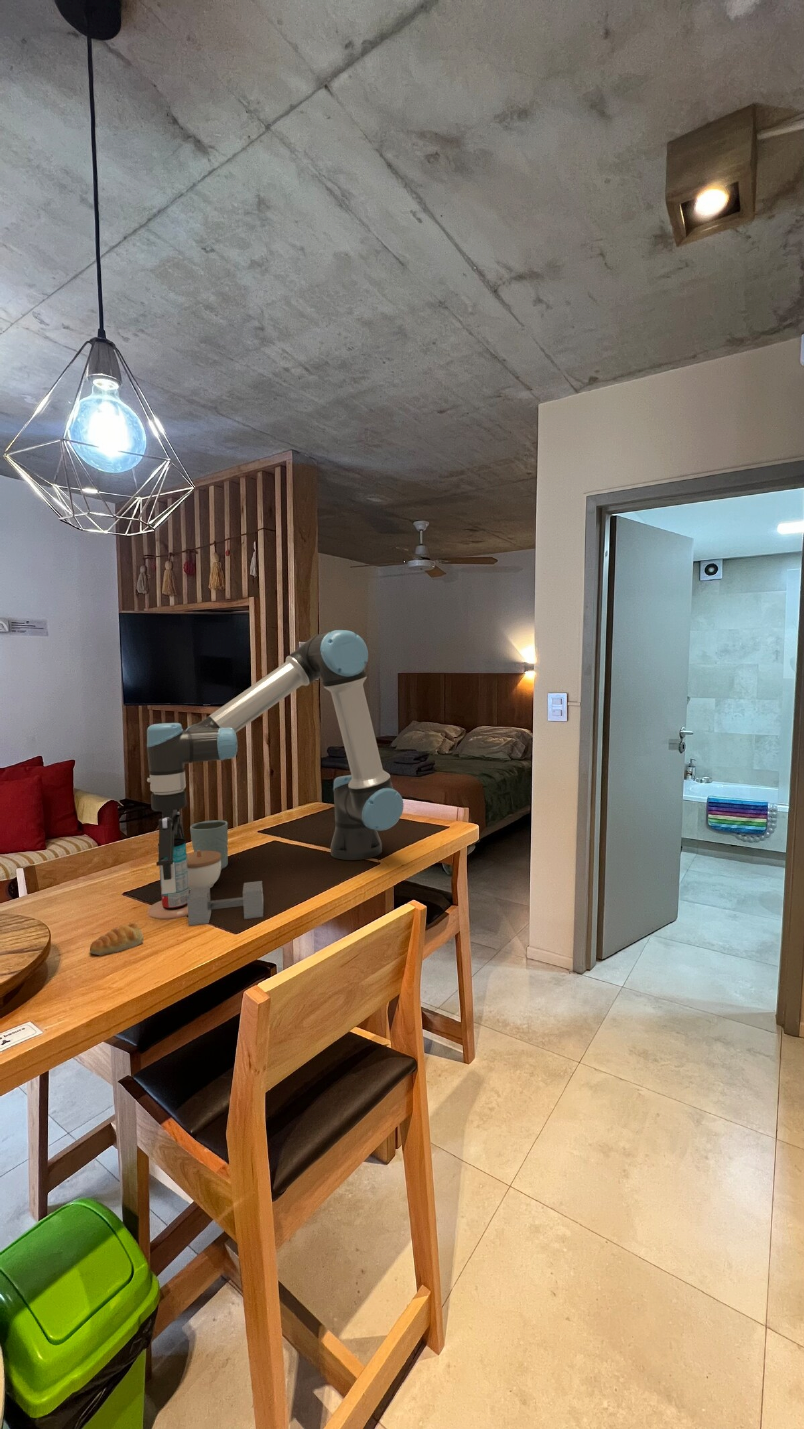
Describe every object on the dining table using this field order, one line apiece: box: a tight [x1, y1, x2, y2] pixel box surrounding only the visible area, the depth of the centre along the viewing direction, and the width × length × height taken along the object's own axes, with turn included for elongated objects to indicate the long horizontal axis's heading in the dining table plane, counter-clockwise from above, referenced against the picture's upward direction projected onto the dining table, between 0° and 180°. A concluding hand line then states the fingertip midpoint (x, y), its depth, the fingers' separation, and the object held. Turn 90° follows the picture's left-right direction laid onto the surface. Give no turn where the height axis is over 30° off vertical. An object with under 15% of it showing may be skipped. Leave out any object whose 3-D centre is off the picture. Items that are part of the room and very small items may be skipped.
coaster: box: [147, 899, 188, 920], centre depth 136 cm, size 12×12×1 cm
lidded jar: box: [186, 850, 222, 891], centre depth 149 cm, size 11×11×9 cm
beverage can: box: [157, 838, 190, 910], centre depth 135 cm, size 6×6×15 cm
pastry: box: [89, 922, 144, 956], centre depth 117 cm, size 9×7×4 cm
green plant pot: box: [189, 819, 229, 870], centre depth 165 cm, size 10×10×12 cm
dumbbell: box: [187, 880, 264, 926], centre depth 132 cm, size 16×9×6 cm, turn 102°
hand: (174, 882), depth 135 cm, fingers open, 13 cm apart
